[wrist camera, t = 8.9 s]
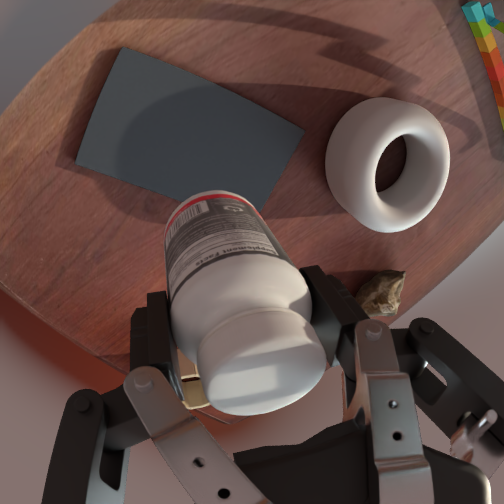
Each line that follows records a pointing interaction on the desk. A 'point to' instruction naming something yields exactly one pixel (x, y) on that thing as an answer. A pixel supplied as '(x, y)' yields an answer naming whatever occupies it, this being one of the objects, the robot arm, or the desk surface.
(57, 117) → the desk surface
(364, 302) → the fossilized seashell
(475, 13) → the chart
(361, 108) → the fat ring
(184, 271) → the pill bottle
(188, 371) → the bracelet
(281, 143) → the mat
